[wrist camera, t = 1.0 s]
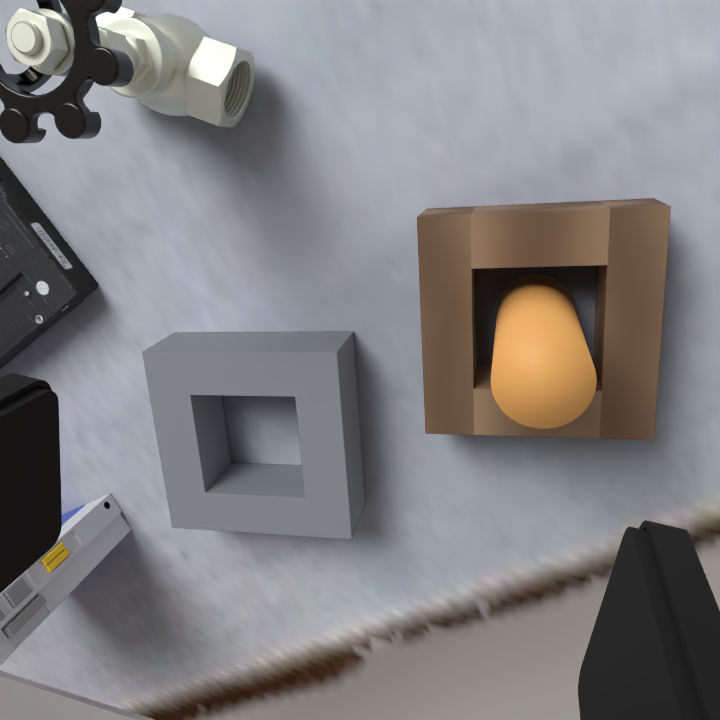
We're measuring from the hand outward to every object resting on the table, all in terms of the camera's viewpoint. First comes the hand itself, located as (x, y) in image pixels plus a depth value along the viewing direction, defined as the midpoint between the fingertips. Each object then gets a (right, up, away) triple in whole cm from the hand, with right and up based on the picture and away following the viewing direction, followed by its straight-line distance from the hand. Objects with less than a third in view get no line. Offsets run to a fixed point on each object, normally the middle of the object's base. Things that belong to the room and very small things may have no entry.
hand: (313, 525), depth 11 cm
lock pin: (+9, +5, +22) cm, 24 cm away
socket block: (-4, -1, +27) cm, 27 cm away
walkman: (-17, -8, +32) cm, 38 cm away
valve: (-7, +17, +22) cm, 28 cm away
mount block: (+9, +5, +22) cm, 24 cm away
